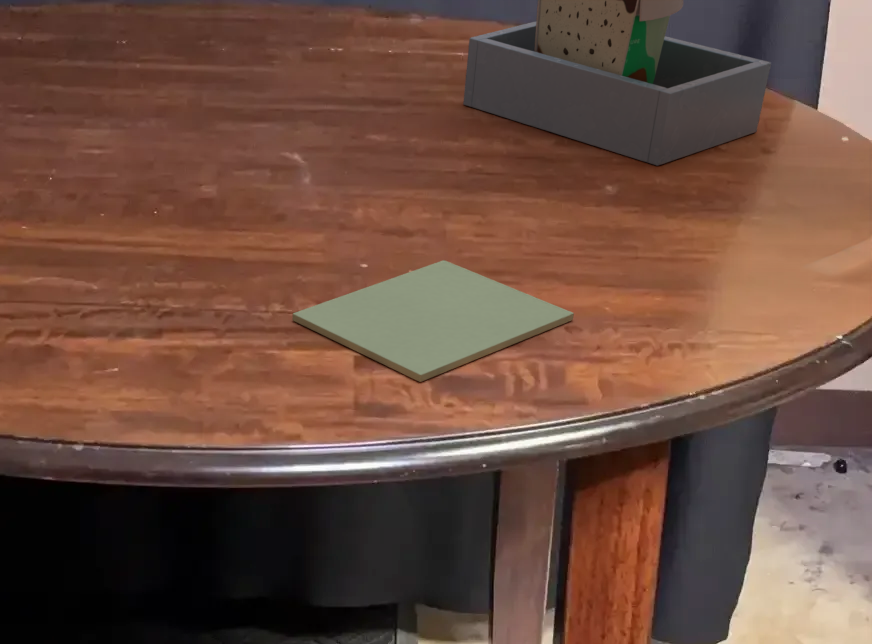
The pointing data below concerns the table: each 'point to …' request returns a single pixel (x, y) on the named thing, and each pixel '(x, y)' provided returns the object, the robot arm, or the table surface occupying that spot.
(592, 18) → the food container
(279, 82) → the table surface
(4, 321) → the table surface
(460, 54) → the table surface
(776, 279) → the table surface
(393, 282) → the mat
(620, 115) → the box
